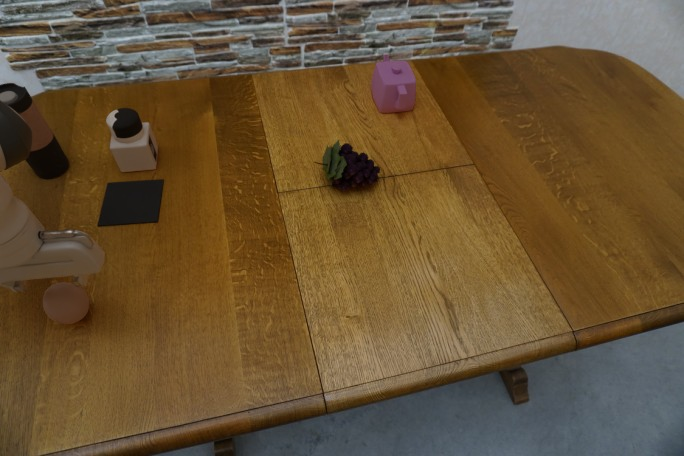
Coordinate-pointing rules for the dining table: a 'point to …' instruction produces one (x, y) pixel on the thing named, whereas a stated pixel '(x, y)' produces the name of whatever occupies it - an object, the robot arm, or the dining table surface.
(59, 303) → the egg
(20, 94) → the travel mug
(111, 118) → the container
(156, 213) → the mat
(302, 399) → the dining table surface
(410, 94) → the teapot
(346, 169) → the fruit
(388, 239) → the dining table surface
